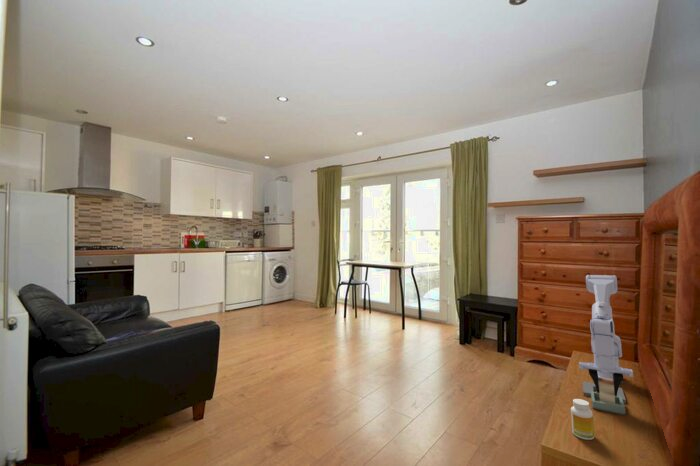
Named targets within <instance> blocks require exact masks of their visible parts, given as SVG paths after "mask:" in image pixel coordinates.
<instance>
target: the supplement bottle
mask: <svg viewBox="0 0 700 466" xmlns="http://www.w3.org/2000/svg"><path fill="white" fill-rule="evenodd" d="M572 404H573V406H571V407H570V418H571V432H572V434H573V435H574V436H576V437H577V438H579V439H582V440H587V441H591V440H594V438H595V427H594V413H593V411H592V410H591V408H590V403H589V401H587V400H584V399H583V398H582V399H581V398H573V400H572Z"/></svg>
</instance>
